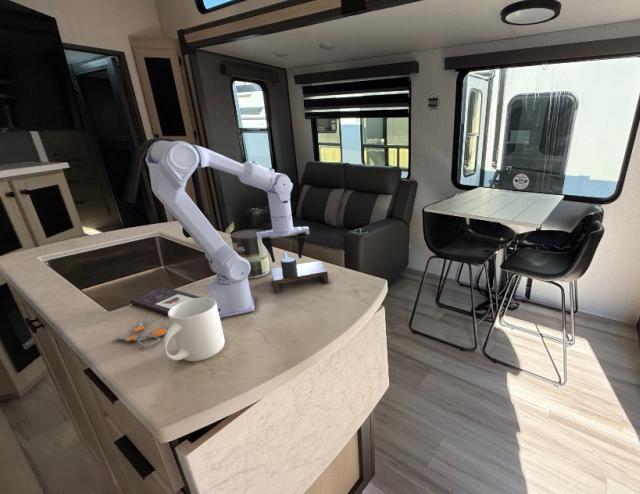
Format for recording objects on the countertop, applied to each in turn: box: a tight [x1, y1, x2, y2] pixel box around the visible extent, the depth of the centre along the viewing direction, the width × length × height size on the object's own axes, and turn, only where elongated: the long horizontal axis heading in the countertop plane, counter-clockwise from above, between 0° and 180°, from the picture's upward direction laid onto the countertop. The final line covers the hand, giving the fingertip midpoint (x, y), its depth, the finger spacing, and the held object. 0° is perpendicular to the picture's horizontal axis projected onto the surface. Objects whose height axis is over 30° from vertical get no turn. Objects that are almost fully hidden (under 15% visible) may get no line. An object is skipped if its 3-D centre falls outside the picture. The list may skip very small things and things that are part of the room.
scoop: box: [280, 252, 298, 278], centre depth 99 cm, size 9×4×5 cm, turn 25°
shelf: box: [270, 260, 329, 294], centre depth 102 cm, size 16×10×4 cm, turn 116°
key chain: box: [116, 320, 168, 348], centre depth 75 cm, size 13×7×1 cm, turn 65°
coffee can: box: [230, 228, 271, 280], centre depth 107 cm, size 10×10×14 cm
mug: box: [162, 297, 226, 362], centre depth 66 cm, size 9×12×11 cm
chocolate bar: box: [129, 286, 203, 316], centre depth 89 cm, size 9×1×18 cm
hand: (287, 259), depth 96 cm, fingers open, 7 cm apart
